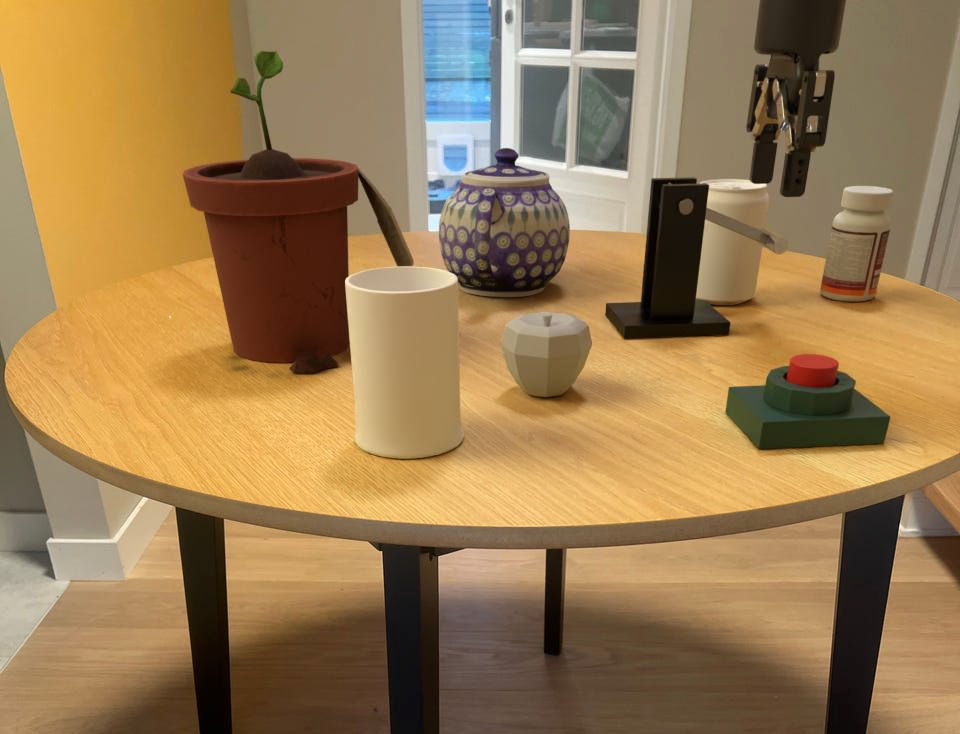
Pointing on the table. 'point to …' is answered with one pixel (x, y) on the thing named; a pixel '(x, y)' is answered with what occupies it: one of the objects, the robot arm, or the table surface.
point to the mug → (405, 360)
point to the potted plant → (285, 244)
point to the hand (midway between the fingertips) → (775, 189)
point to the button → (812, 370)
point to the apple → (546, 351)
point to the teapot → (504, 230)
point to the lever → (748, 231)
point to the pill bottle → (857, 244)
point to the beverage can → (731, 242)
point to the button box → (805, 413)
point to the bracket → (671, 268)
